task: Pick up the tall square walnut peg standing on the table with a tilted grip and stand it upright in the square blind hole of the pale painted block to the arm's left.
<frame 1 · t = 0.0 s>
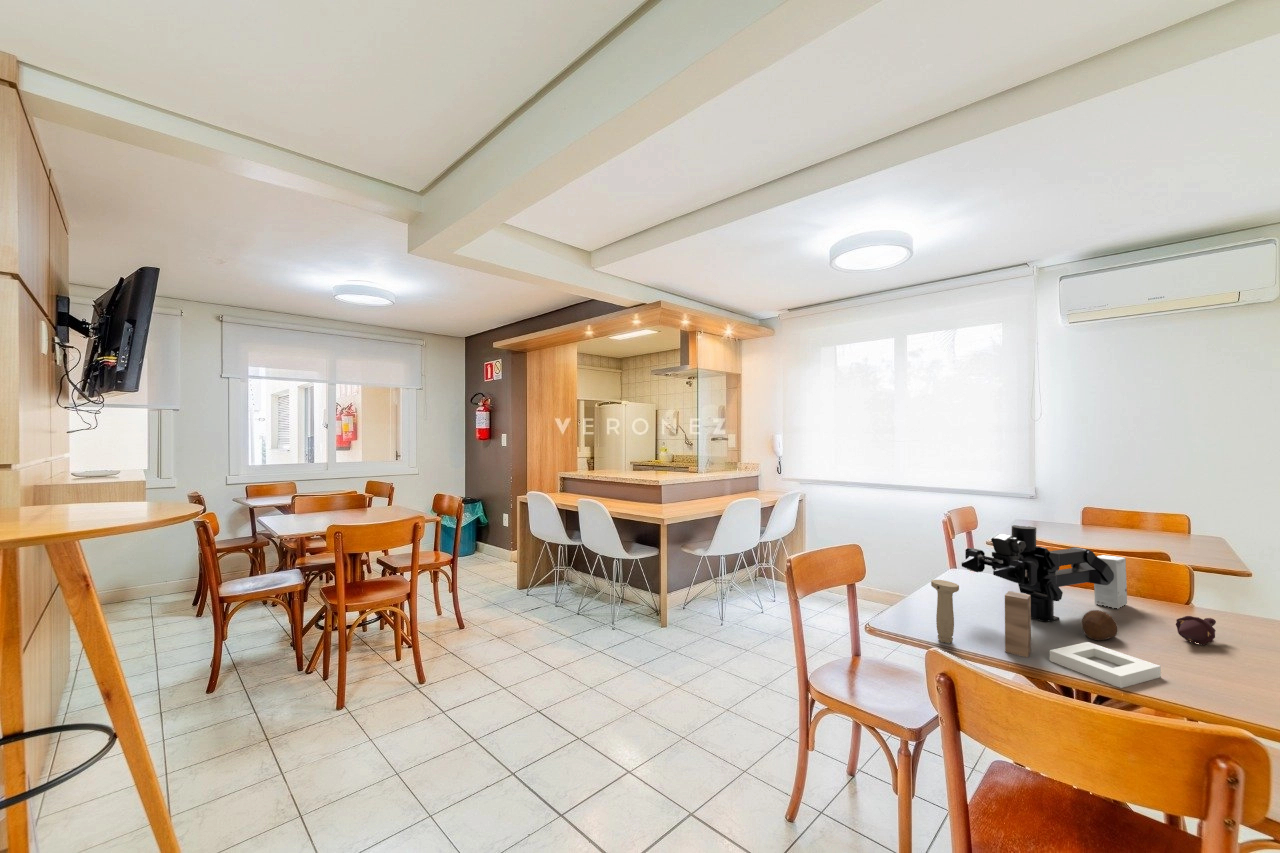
hand: (977, 568, 144), 17 cm above the table, tool horizontal, fingers open, 9 cm apart
peg: (1018, 652, 129), on the table
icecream: (1196, 643, 134), on the table
potato: (1098, 638, 138), on the table
socket block: (1103, 668, 120), on the table
skincare box: (1110, 605, 164), on the table
handle: (945, 642, 136), on the table
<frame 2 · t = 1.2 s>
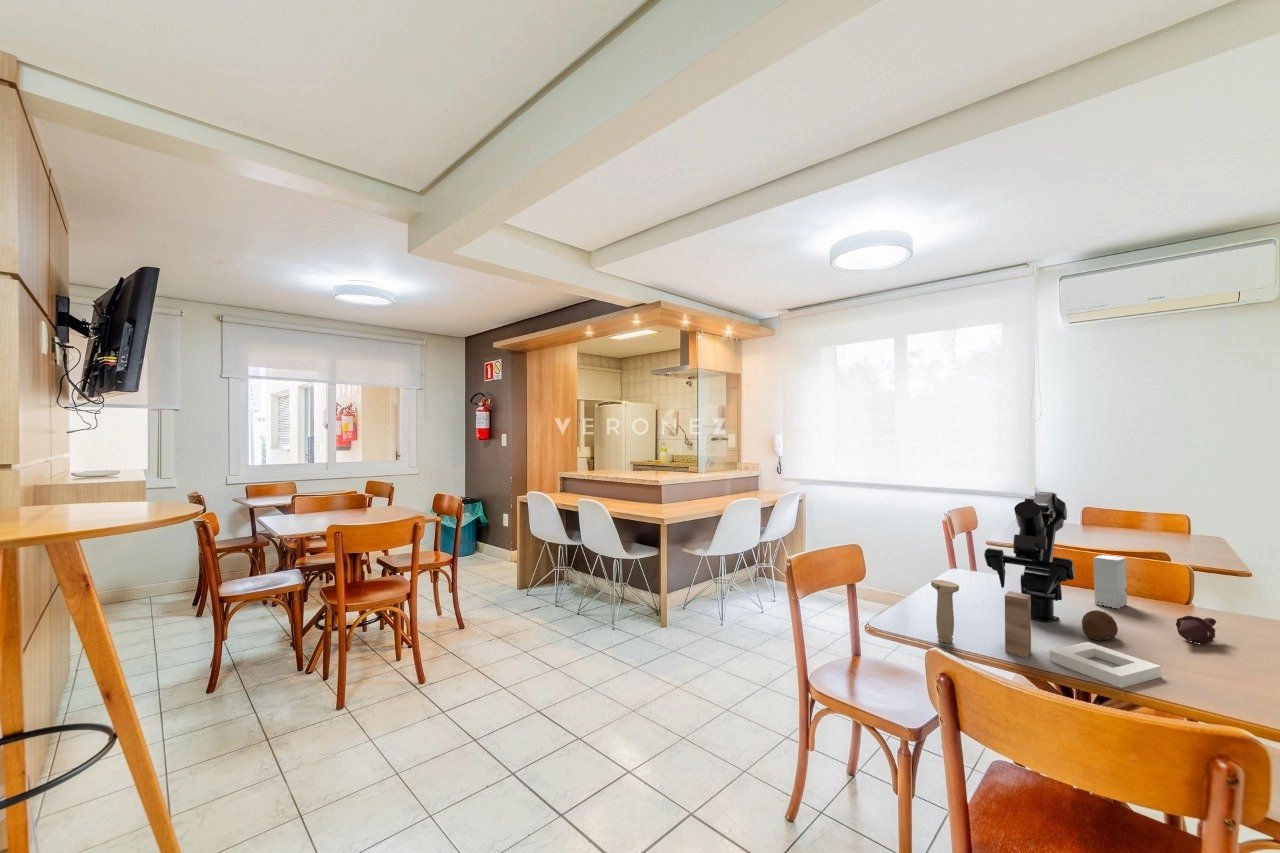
hand: (1023, 590, 135), 13 cm above the table, tool tilted 45°, fingers open, 9 cm apart
nothing on the table moved.
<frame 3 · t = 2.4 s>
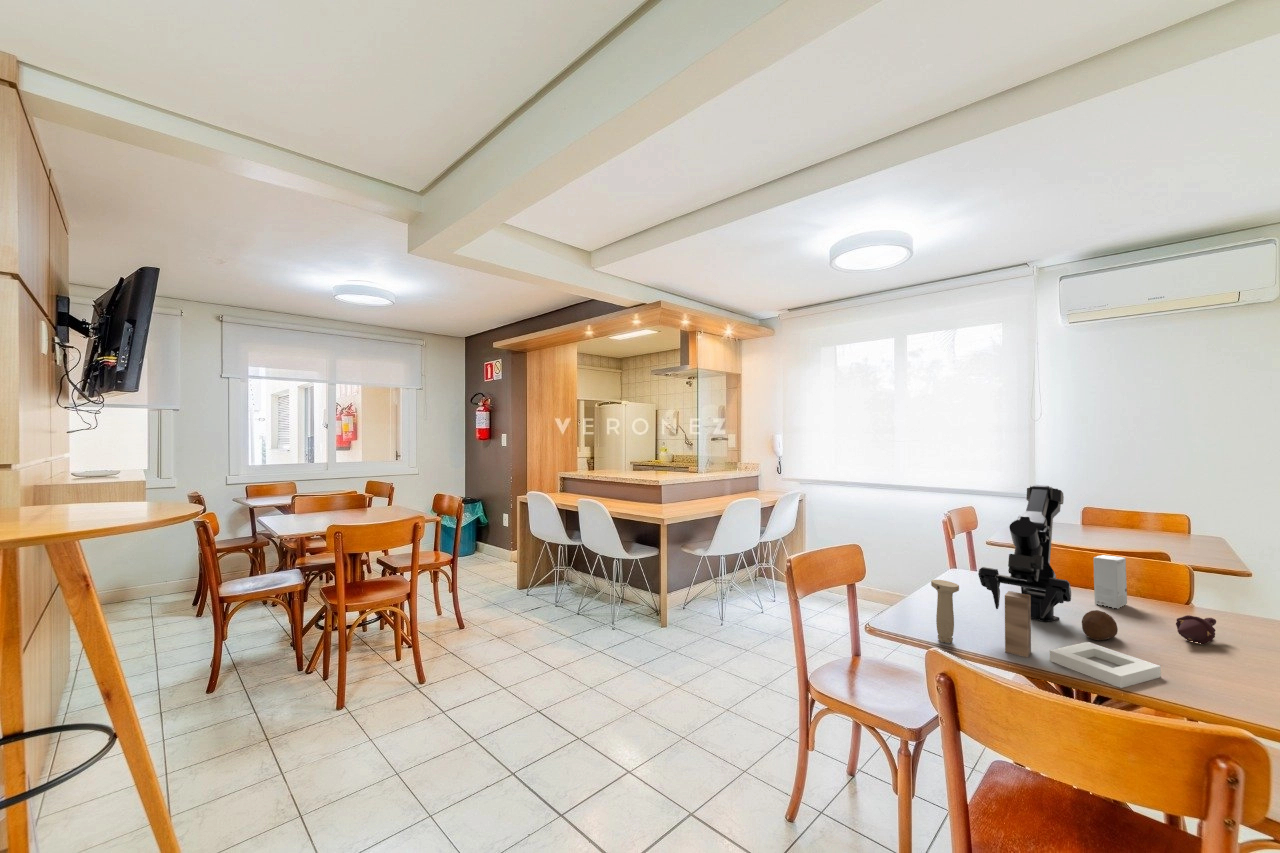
hand: (1018, 612, 130), 9 cm above the table, tool tilted 45°, fingers open, 9 cm apart
nothing on the table moved.
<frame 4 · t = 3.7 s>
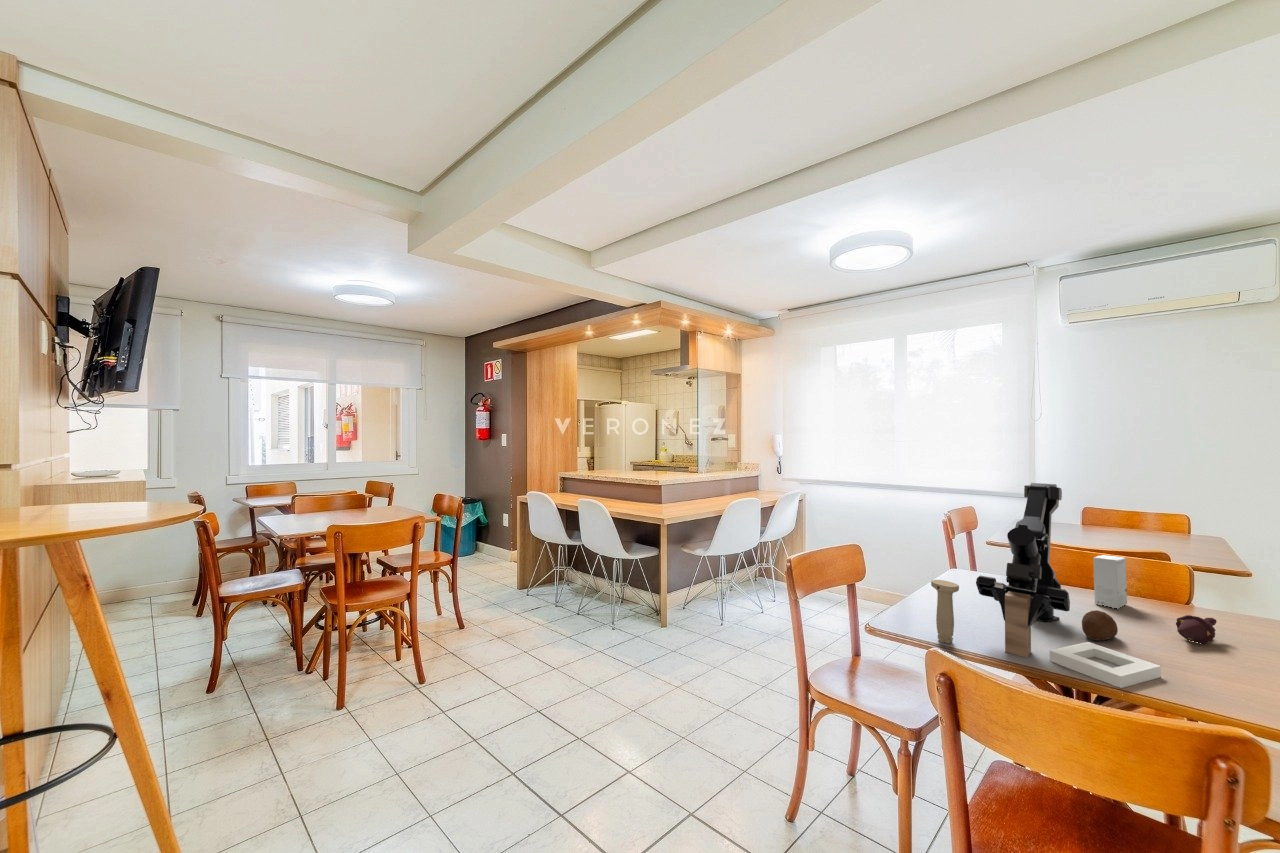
hand: (1016, 622, 128), 8 cm above the table, tool tilted 45°, fingers closed on peg, 4 cm apart
peg: (1018, 652, 129), on the table, touching gripper
everything else where it was.
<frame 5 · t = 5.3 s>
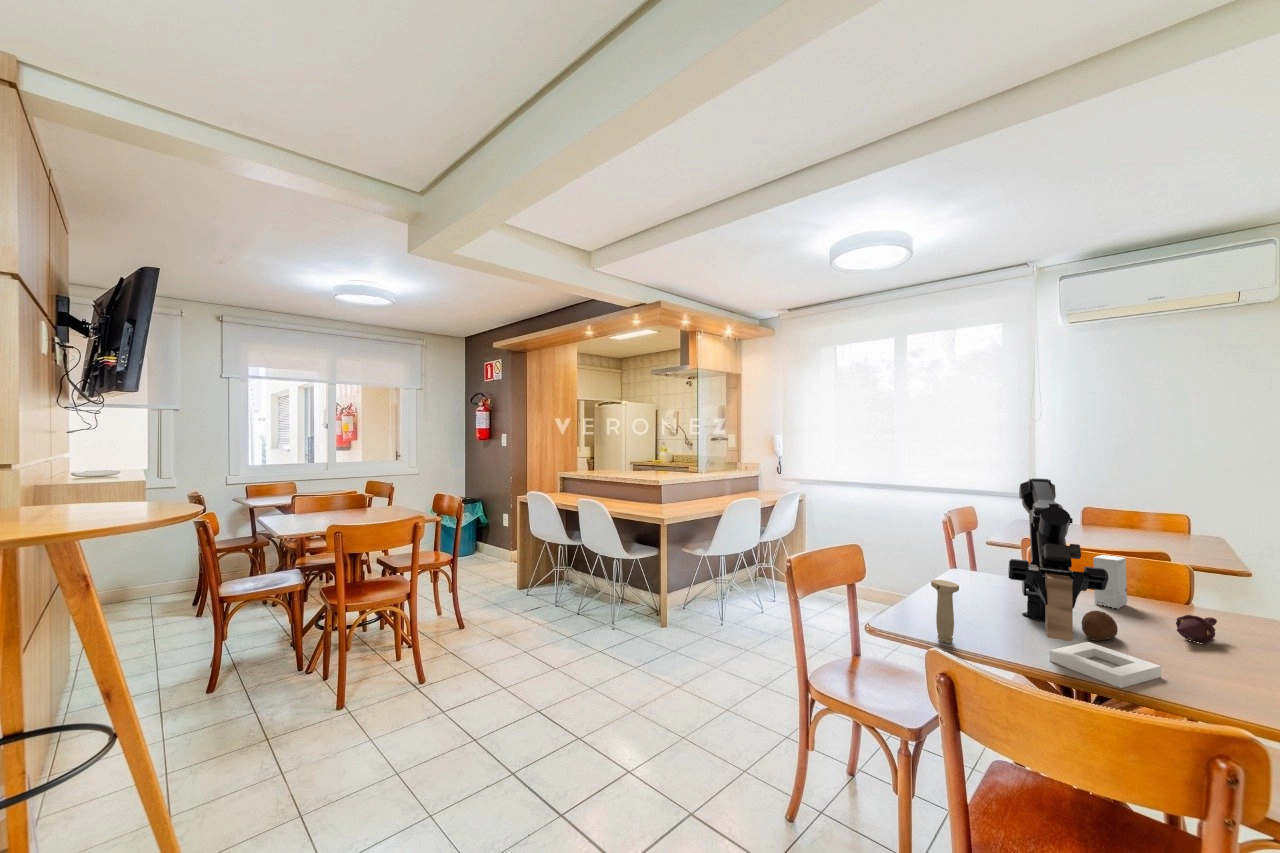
hand: (1059, 605, 123), 13 cm above the table, tool tilted 45°, fingers closed on peg, 4 cm apart
peg: (1058, 636, 124), point 6 cm above the table, touching gripper
when the fingers open (9 cm above the table, at t = 7.2 s): peg stays where it is, resting on socket block.
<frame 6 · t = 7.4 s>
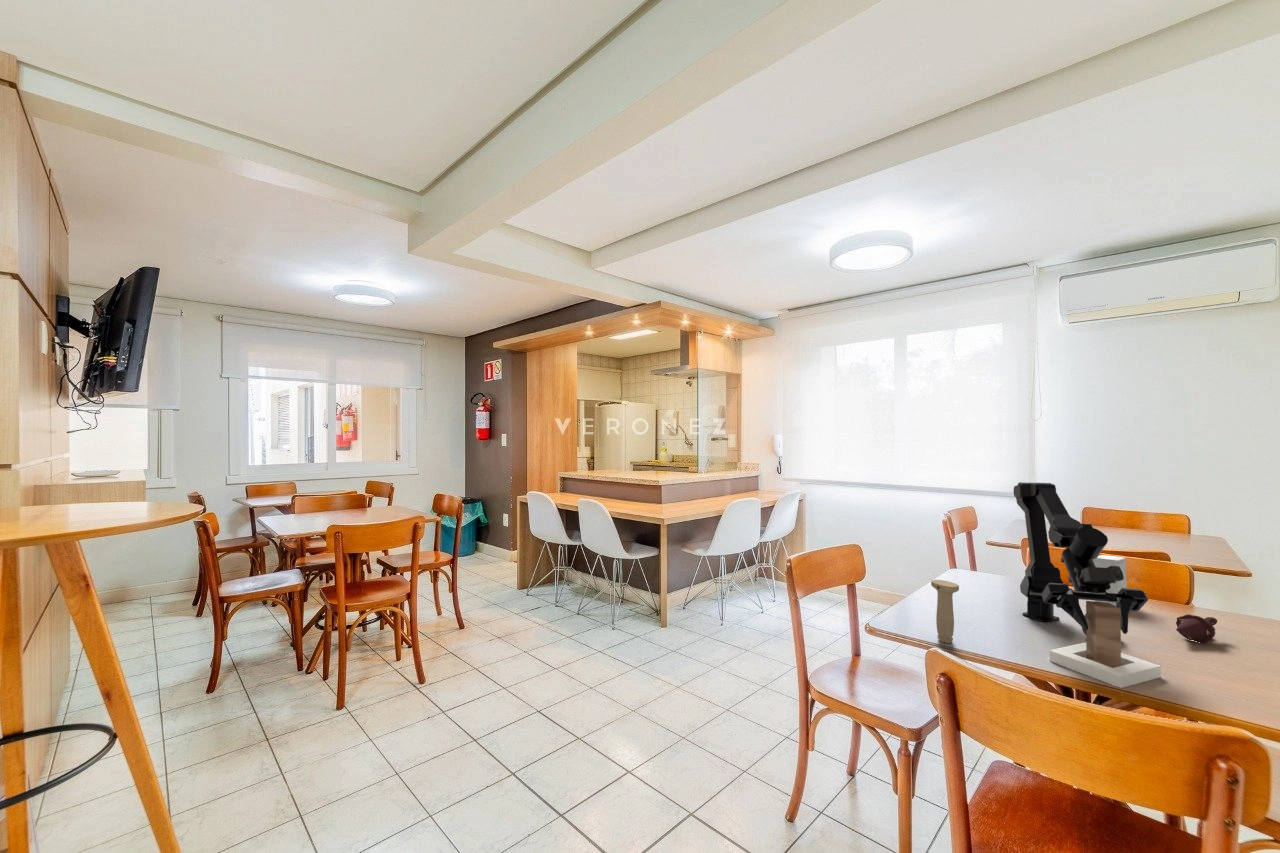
hand: (1106, 631, 119), 9 cm above the table, tool tilted 45°, fingers open, 7 cm apart
peg: (1103, 666, 120), point 1 cm above the table, touching socket block
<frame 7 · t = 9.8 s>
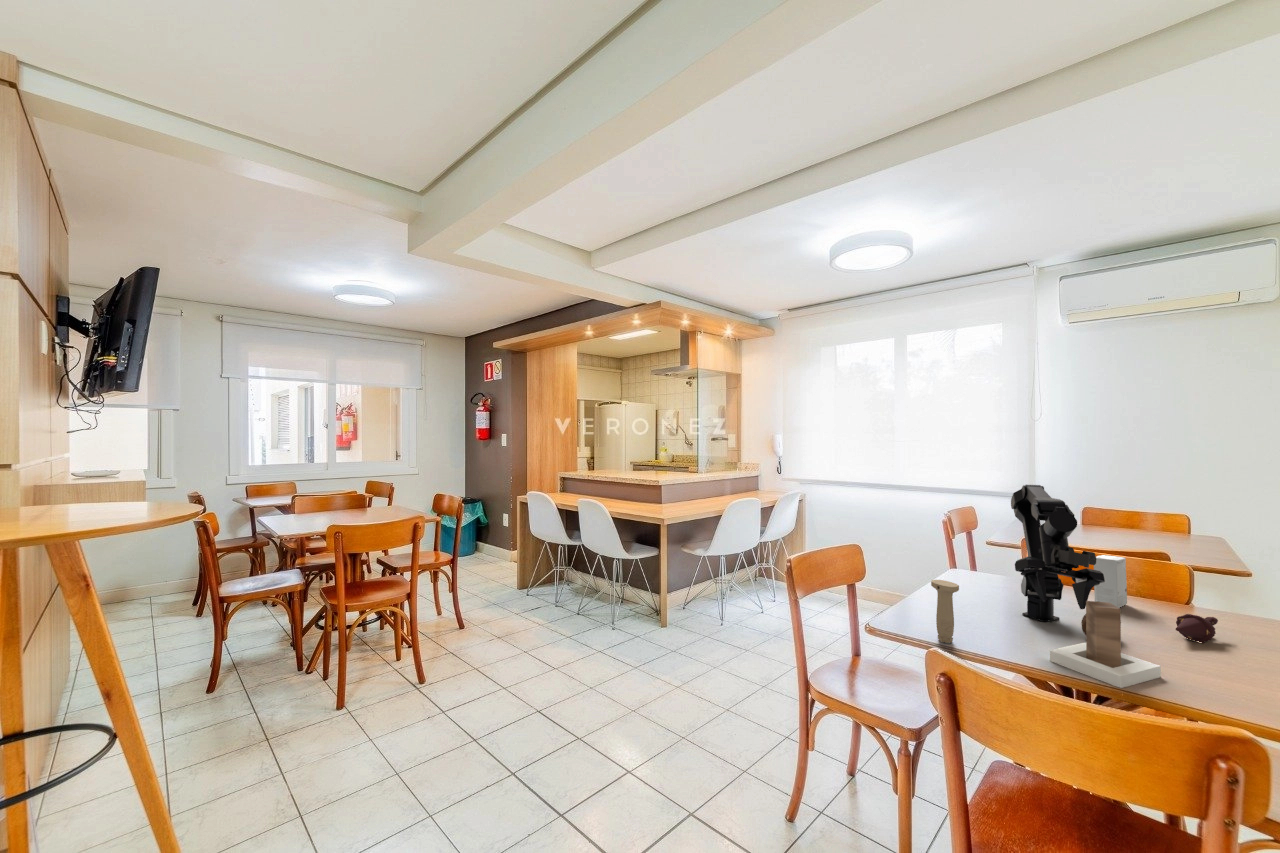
hand: (1063, 605, 132), 10 cm above the table, tool tilted 30°, fingers open, 9 cm apart
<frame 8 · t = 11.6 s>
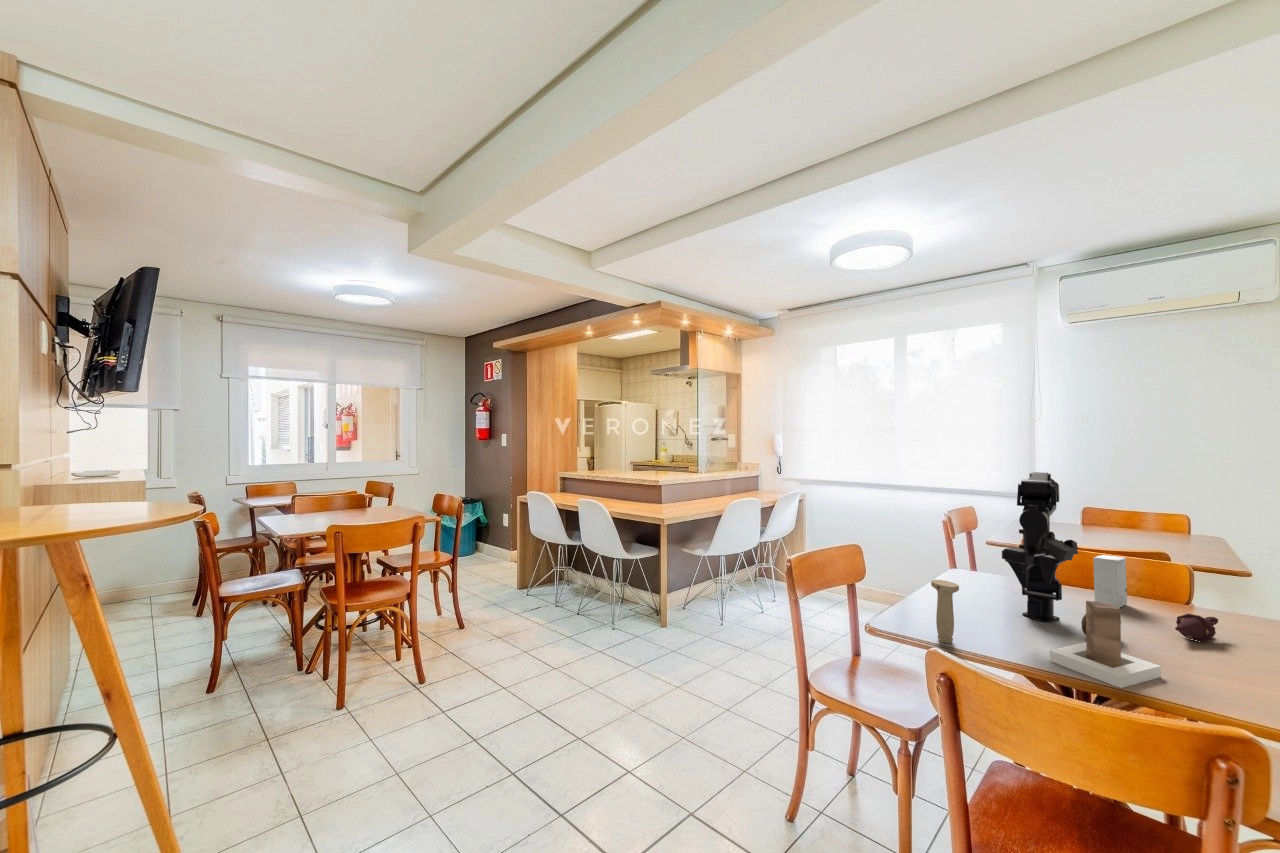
hand: (1036, 585, 140), 13 cm above the table, tool pointing down, fingers open, 9 cm apart
at the end: peg inside the target area on the socket block (0.0 cm from its centre), point 0.6 cm above the socket block's base; peg tilted 0°; the gripper is holding nothing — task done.
